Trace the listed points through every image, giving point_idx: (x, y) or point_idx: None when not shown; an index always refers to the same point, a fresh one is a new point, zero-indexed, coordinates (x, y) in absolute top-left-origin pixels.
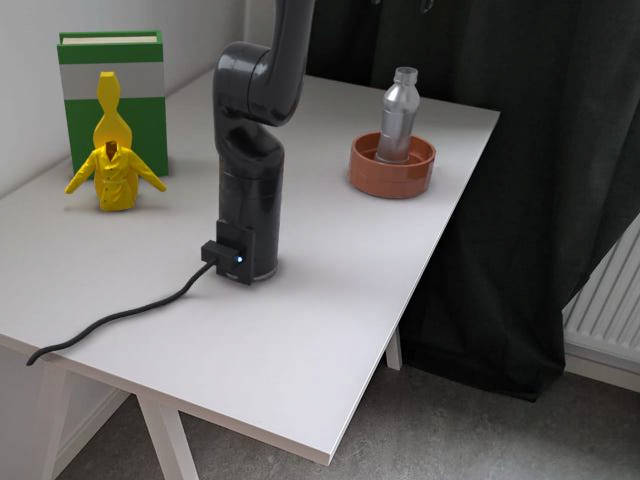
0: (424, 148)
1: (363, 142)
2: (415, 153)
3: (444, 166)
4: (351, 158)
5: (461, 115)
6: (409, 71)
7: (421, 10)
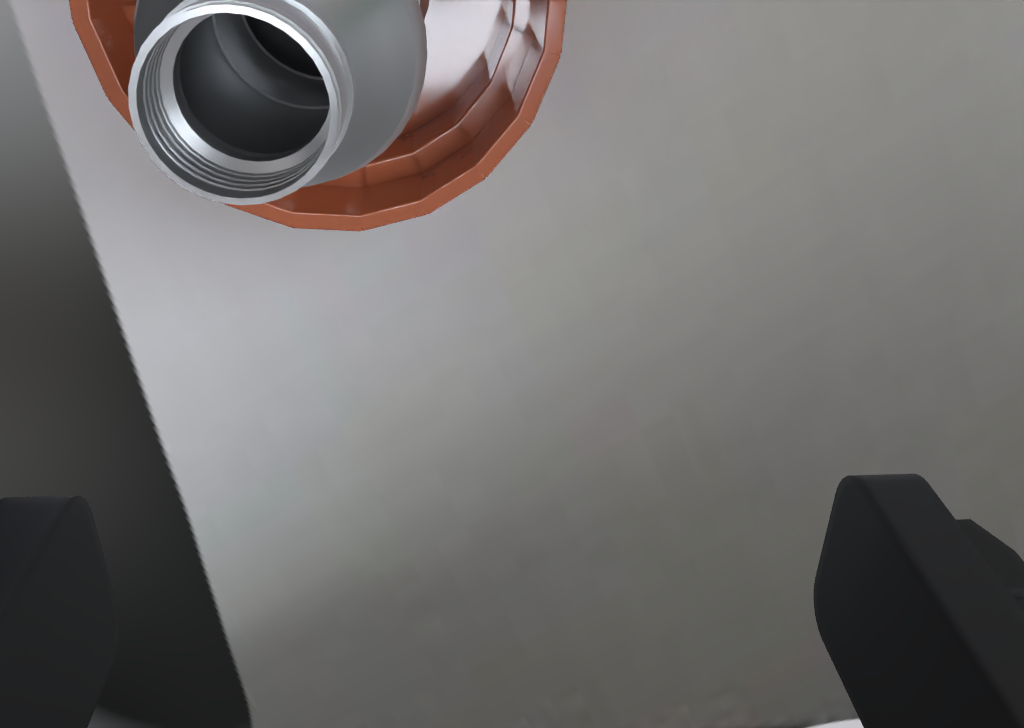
0: None
1: (532, 60)
2: None
3: (196, 269)
4: None
5: (360, 699)
6: (254, 186)
7: (40, 498)
